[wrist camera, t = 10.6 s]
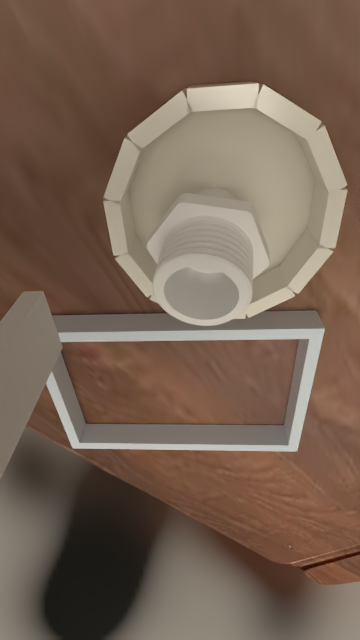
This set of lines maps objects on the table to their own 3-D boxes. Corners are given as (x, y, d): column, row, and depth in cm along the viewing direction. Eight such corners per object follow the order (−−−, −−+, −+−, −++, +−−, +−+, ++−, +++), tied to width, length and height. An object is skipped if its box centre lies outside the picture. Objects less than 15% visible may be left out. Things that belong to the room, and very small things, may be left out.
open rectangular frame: (37, 315, 31) (25, 333, 29) (316, 310, 29) (324, 328, 27) (79, 429, 40) (72, 448, 38) (292, 431, 38) (296, 451, 36)
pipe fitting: (147, 219, 24) (117, 301, 19) (209, 133, 19) (190, 213, 14) (218, 264, 27) (207, 349, 21) (290, 198, 22) (298, 287, 16)
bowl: (101, 92, 21) (82, 96, 17) (345, 74, 19) (372, 74, 16) (134, 293, 29) (125, 320, 26) (307, 289, 27) (320, 317, 24)
